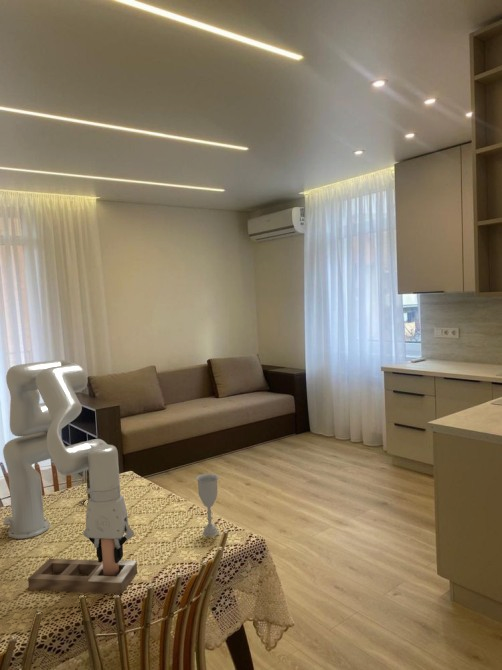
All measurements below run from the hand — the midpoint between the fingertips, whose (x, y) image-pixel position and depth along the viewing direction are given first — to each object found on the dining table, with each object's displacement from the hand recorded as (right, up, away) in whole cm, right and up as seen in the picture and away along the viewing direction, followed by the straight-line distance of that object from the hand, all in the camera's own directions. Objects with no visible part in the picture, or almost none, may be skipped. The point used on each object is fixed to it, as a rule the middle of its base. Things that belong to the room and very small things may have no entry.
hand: (110, 559), depth 131 cm
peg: (0, -4, 0) cm, 4 cm away
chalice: (+24, -3, +25) cm, 35 cm away
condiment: (-22, -4, +56) cm, 60 cm away
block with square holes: (-8, -6, +2) cm, 10 cm away
